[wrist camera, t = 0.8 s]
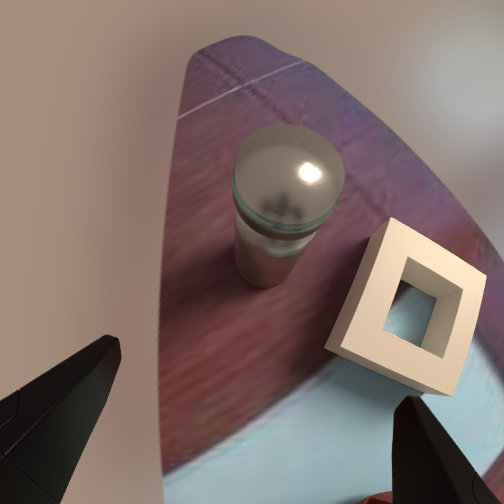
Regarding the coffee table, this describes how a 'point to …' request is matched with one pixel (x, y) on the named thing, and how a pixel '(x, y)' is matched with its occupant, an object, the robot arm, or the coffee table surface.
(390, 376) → the docking block
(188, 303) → the coffee table surface
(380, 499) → the mechanical component
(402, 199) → the coffee table surface
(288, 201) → the cylinder
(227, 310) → the coffee table surface
